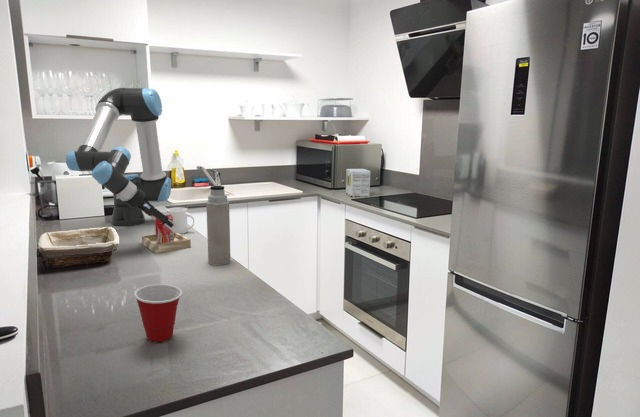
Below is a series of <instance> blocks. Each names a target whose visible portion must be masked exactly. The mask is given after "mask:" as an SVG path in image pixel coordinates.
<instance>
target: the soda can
mask: <svg viewBox="0 0 640 417" xmlns="http://www.w3.org/2000/svg"><path fill="white" fill-rule="evenodd" d="M161 213H162V214H164V215H165V216H166V217H168V218H169V220H171V221H172V222H173V217H172V216H171V213H169V212H167V211H165V212H164V211H162V212H161ZM164 219H165V218H164ZM154 230H155V234H156V240H157V242H158V243H159V244H163V243H169V242H173V241H174V232H173V231H172V230H170V229H169V228H168V227H167V226H165V225H162V222H161V221H160V220H158V219H157V218H156V217H155V220H154Z"/></svg>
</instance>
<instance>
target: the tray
mask: <svg viewBox="0 0 640 417" xmlns="http://www.w3.org/2000/svg"><path fill="white" fill-rule="evenodd" d="M141 244H142V245H143V246H145V247H146V248H147V249H149V250H150V251H152V252H153V253H155V254H160V253H161V254H163V253H165V252H166V253H167V252H171V251H172V252H173V251H178V250H184V249H188V248H189V249H190V248H191V247H192V246H191V245H192V244H191V239H189V238H188V237H186V236H184V235H183V234H179V233H176V234H175V233H174V241H173V242H169V243H163V244H159V243H158V242H157V240H156V233H155V234H149V235H141Z"/></svg>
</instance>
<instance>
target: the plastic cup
mask: <svg viewBox="0 0 640 417" xmlns="http://www.w3.org/2000/svg"><path fill="white" fill-rule="evenodd" d="M133 295H134V299H136V303H137V305H138V306H137V307H138V309H139V313H140V318H141V321H142V325H143V328H144V331H145V336H146V338H147V340H148V342H149V341H151V342H150V343H152V342H162V343H164V342H163V341H165V342H167V341H166V340H168V339H170V338H171V337H172V338H173V335H174V329H175V328H174V326H175V322H176V315H177V310H178V309H177V308H178V304H179V301H180V298H181V296H182V295H183V290H182V289H181V288H180V287H177V286H175V285H171V284H165V283H163V284H162V283H161V284H160V283H159V284H158V283H157V284H156V283H155V284H149V285H145V286H142V287H139V288H138V289H136V290H135V291H134V293H133ZM172 338H171V339H172ZM171 339H170V340H171ZM168 341H169V340H168Z"/></svg>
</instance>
